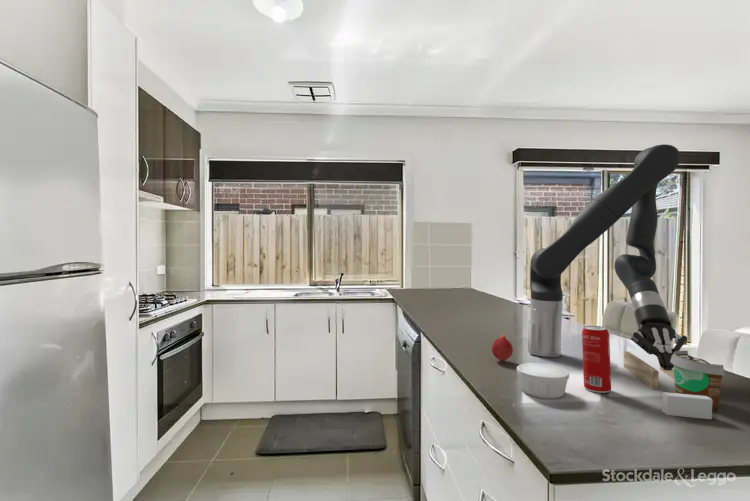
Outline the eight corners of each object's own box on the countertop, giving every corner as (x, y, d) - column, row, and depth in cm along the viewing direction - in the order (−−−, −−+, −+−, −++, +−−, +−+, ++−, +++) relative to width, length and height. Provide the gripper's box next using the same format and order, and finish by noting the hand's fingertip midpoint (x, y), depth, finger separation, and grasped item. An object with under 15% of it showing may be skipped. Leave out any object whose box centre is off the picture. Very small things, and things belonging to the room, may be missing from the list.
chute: (652, 389, 98) (653, 370, 98) (623, 366, 116) (624, 351, 116) (701, 393, 96) (702, 374, 96) (664, 370, 114) (665, 354, 114)
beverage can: (614, 395, 94) (617, 330, 94) (584, 392, 95) (586, 328, 95) (605, 386, 100) (607, 325, 99) (577, 383, 101) (579, 323, 101)
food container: (657, 389, 98) (658, 348, 98) (684, 391, 98) (686, 350, 97) (691, 411, 86) (693, 364, 86) (723, 413, 85) (725, 365, 85)
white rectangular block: (666, 414, 84) (667, 395, 84) (662, 410, 86) (662, 392, 85) (711, 419, 82) (712, 399, 82) (705, 415, 84) (706, 396, 84)
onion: (490, 363, 117) (491, 335, 117) (492, 357, 122) (493, 331, 122) (511, 365, 115) (512, 337, 114) (513, 360, 120) (513, 333, 120)
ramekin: (506, 386, 98) (506, 365, 98) (541, 381, 103) (541, 360, 103) (542, 404, 88) (542, 380, 88) (579, 397, 92) (579, 374, 92)
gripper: (626, 301, 111) (643, 359, 99) (682, 304, 108) (706, 363, 96) (619, 317, 116) (634, 373, 105) (671, 320, 113) (693, 378, 102)
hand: (668, 368), depth 101 cm, fingers closed
